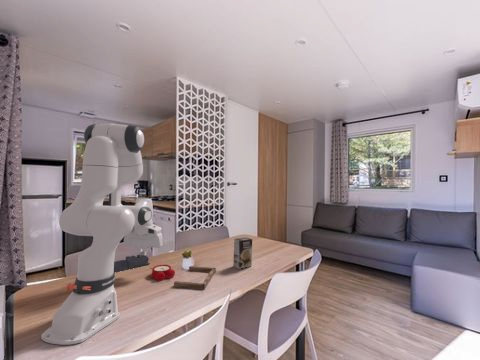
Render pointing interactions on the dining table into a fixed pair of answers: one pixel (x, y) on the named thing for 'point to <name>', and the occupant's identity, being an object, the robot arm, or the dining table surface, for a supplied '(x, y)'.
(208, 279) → the brown frame
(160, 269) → the alarm clock
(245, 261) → the coffee box
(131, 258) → the dark slate chunk
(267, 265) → the dining table surface
